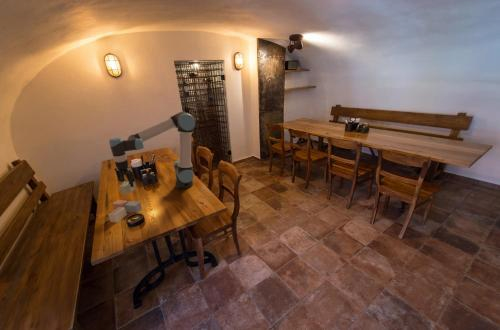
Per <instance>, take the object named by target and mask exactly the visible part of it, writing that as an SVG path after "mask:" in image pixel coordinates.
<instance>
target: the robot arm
mask: <svg viewBox="0 0 500 330" xmlns="http://www.w3.org/2000/svg"><path fill="white" fill-rule="evenodd" d="M195 126H196V119H195V118H194V116H193V115H192V114H190V113H189V112H185V111H180V112H178V113H176V114H174V115H172V116H170V117H169V118H168V119H166V120H164V121H161V122H160V123H157V124H155V125H152V126H150V127H148V128H146V129H143V130H141V131H139V132H137V133H135V134H131V135H129V136H128V138H127V139H126V140H123V138H121V137H113V138H110V139H109V141H108V143H109V147H110V150H111V154H112V157H113V158H112V159H113V162H114V164H115V167H116V168H114V171H115V175H116V177H117V178H116V179H117V181H118V182H120V183H121V185H122V184H124V183H125V182H127V181H129V183H128V184H129V188H130V191H131V192H133V191H134V190H135V189H134V187H133V186H134V185H133V182H134V181H135V182H136V180H135V176H134V172H133V168H130V167H129V161H128V157H127V154H126V152H133V151H139V150H142V149H144V148H145V147H144V143H145V142H146V141H149V140H151V139H153V138H155V137H158V136H160V135H162V134H163V133H166V132H168V131H170V130H174V129H177V132H178V133H179V160H176V161H174V162H173V169H174V173H175V188H176V189H178V190H186V189H189V188H191V187H192V186H193V185H194V177H195V173H194V170H193V169H194V168H193V167H194V166H193V163H191V162H192V161H191V160H192V157H191V156H192V134H193V133H194V128H195ZM125 178H126V179H127V181H126V180H125Z"/></svg>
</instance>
